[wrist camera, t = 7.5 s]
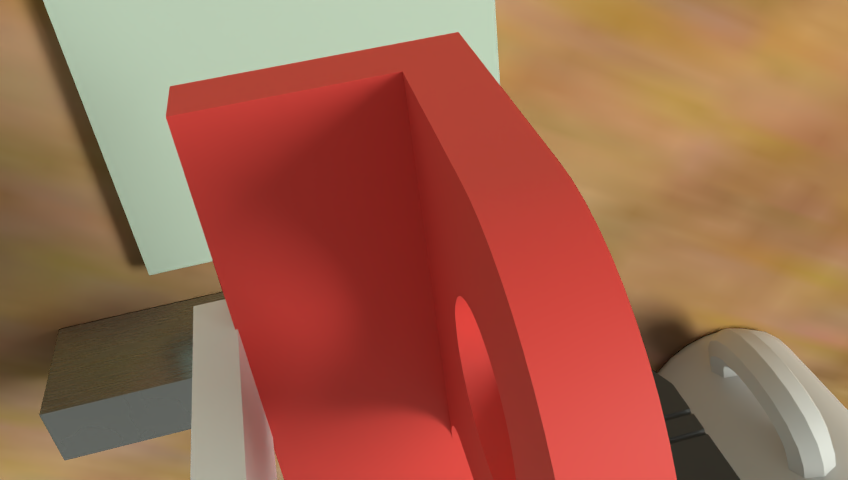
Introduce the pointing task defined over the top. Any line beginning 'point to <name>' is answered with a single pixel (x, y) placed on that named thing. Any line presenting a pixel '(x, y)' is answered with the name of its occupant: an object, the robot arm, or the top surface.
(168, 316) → the grey u-shaped frame
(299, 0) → the mat
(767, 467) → the cup
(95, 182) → the top surface
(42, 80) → the top surface
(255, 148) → the bracket
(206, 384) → the robot arm
